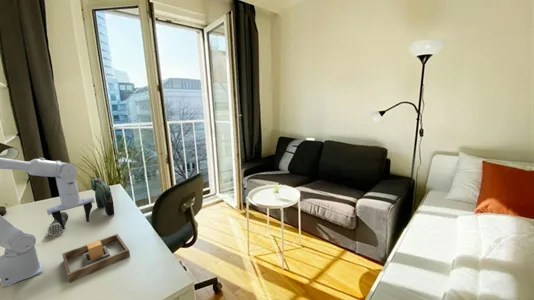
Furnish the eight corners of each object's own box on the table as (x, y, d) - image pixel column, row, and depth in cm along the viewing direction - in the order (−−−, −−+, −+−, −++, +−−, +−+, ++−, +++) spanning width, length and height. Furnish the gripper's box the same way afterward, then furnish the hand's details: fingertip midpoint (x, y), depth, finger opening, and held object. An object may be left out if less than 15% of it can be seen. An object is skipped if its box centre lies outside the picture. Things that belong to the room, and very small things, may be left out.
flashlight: (56, 222, 120) (53, 212, 119) (70, 219, 123) (67, 209, 121) (49, 237, 107) (46, 225, 106) (64, 233, 110) (62, 222, 109)
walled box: (69, 282, 79) (67, 274, 79) (63, 260, 90) (62, 253, 90) (130, 256, 91) (129, 249, 91) (118, 240, 103) (117, 233, 102)
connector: (91, 263, 88) (88, 249, 87) (89, 258, 91) (86, 244, 90) (104, 258, 91) (101, 244, 90) (102, 253, 94) (99, 239, 93)
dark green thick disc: (94, 207, 135) (87, 172, 131) (107, 203, 140) (101, 170, 136) (105, 218, 122) (97, 180, 118) (119, 213, 127) (113, 177, 123)
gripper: (89, 185, 102) (95, 215, 105) (43, 195, 92) (51, 228, 95) (93, 189, 97) (99, 220, 100) (44, 200, 87) (52, 235, 90)
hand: (76, 224), depth 97 cm, fingers open, 7 cm apart
